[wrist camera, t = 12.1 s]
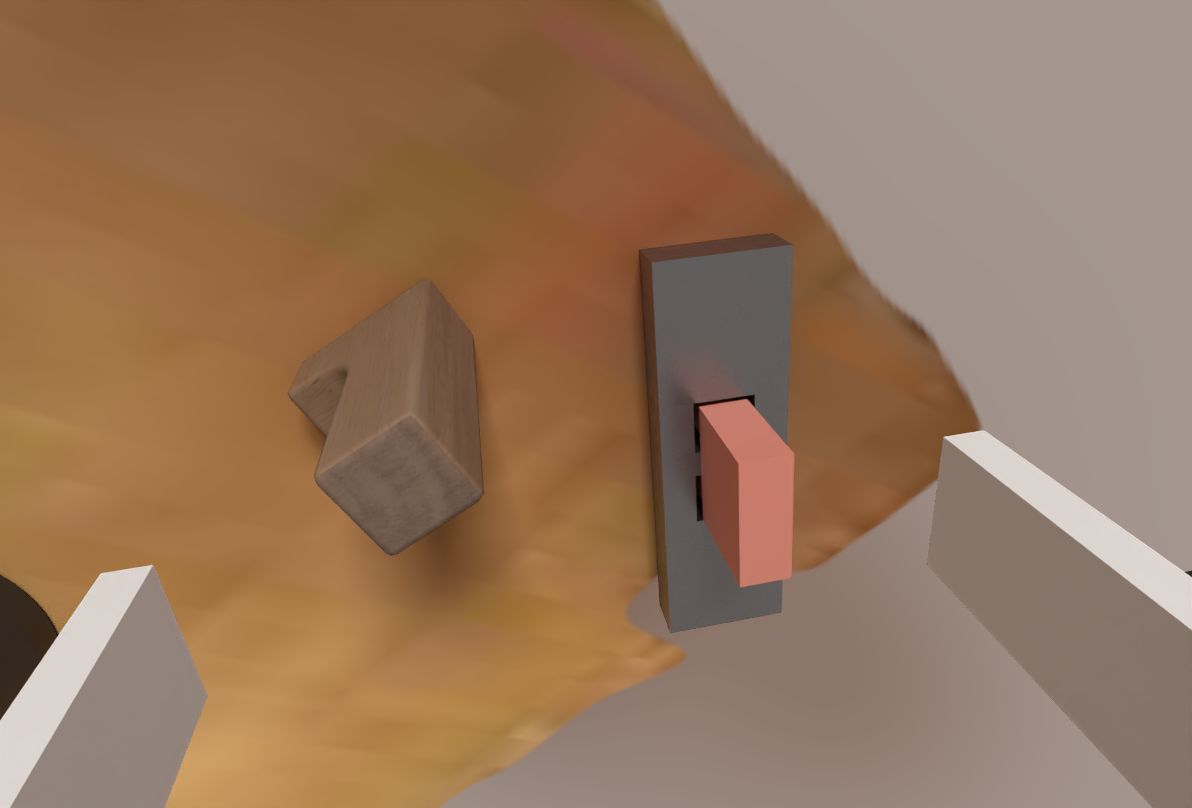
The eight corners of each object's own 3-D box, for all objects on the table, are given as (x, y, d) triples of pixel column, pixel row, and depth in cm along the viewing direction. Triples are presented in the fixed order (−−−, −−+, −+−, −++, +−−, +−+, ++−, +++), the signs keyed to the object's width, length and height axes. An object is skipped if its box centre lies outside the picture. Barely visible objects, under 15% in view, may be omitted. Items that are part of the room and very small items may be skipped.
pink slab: (689, 494, 51) (740, 587, 42) (685, 386, 48) (738, 463, 39) (732, 486, 51) (791, 577, 42) (730, 379, 48) (794, 453, 39)
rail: (659, 604, 55) (670, 633, 52) (639, 249, 43) (651, 262, 41) (765, 585, 56) (781, 612, 53) (772, 233, 44) (792, 244, 42)
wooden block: (351, 420, 45) (294, 626, 29) (299, 363, 43) (205, 549, 27) (476, 336, 44) (488, 499, 28) (427, 274, 42) (411, 410, 26)
